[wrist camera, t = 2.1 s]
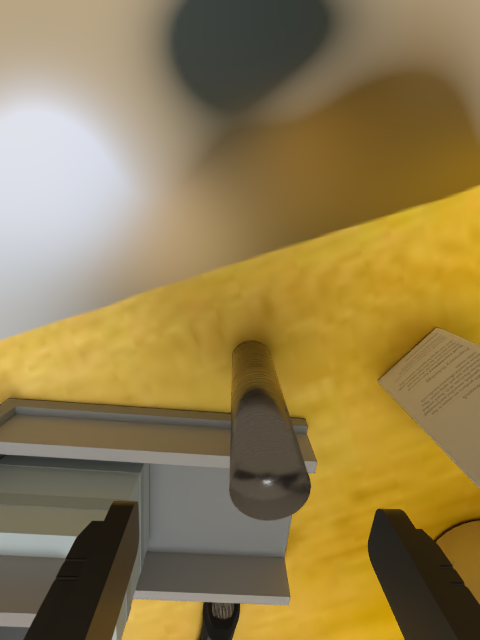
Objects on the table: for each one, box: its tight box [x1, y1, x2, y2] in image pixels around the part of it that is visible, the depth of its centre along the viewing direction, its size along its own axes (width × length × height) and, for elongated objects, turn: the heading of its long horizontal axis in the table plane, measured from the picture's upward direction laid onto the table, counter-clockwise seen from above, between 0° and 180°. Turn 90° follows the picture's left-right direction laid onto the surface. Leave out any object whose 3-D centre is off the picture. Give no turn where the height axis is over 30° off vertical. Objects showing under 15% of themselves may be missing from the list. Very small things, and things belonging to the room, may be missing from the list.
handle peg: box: [229, 341, 311, 521], centre depth 16 cm, size 3×3×12 cm
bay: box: [0, 398, 317, 605], centre depth 21 cm, size 24×16×9 cm, turn 85°
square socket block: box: [0, 455, 149, 640], centre depth 19 cm, size 10×10×10 cm
